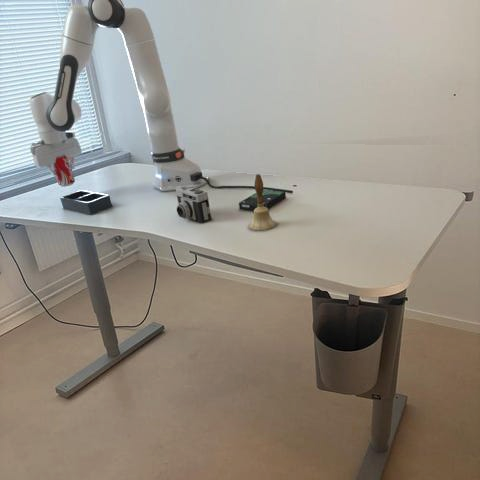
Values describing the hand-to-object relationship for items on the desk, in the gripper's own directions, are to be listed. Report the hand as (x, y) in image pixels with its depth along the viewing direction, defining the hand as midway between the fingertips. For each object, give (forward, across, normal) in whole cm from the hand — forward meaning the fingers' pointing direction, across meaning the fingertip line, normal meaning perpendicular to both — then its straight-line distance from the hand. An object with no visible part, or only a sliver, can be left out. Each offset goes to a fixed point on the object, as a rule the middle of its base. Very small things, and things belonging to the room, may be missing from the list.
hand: (63, 172), depth 203 cm
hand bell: (+13, +7, -98) cm, 99 cm away
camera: (+12, +3, -70) cm, 72 cm away
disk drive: (+13, +24, -85) cm, 89 cm away
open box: (+11, -5, -18) cm, 22 cm away
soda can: (+5, 0, 0) cm, 5 cm away
